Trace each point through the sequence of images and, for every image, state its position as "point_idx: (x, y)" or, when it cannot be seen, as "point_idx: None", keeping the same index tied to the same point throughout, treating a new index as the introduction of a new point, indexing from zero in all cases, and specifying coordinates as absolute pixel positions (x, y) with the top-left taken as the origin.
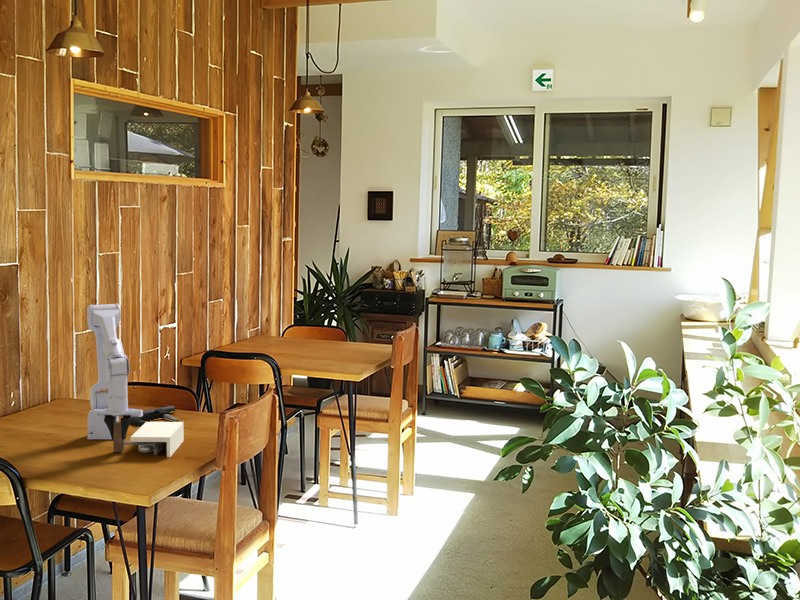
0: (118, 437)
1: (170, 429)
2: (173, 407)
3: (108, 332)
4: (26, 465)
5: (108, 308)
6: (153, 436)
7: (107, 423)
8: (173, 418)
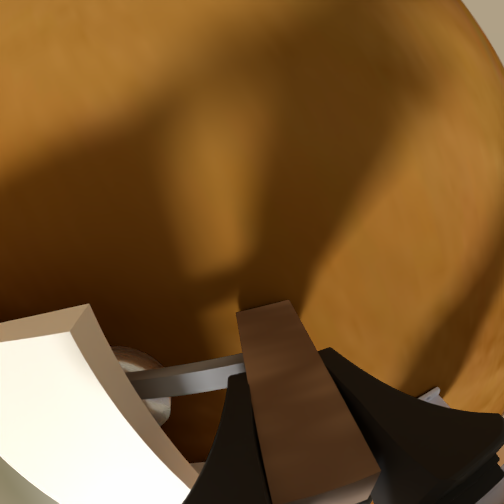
0: (277, 374)
1: (31, 473)
2: None
3: None
4: (496, 67)
5: None
6: None
7: (452, 423)
8: None
